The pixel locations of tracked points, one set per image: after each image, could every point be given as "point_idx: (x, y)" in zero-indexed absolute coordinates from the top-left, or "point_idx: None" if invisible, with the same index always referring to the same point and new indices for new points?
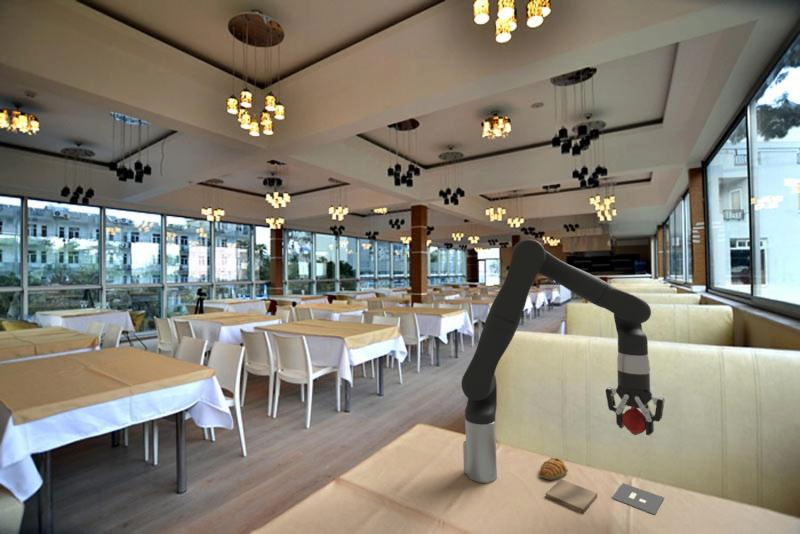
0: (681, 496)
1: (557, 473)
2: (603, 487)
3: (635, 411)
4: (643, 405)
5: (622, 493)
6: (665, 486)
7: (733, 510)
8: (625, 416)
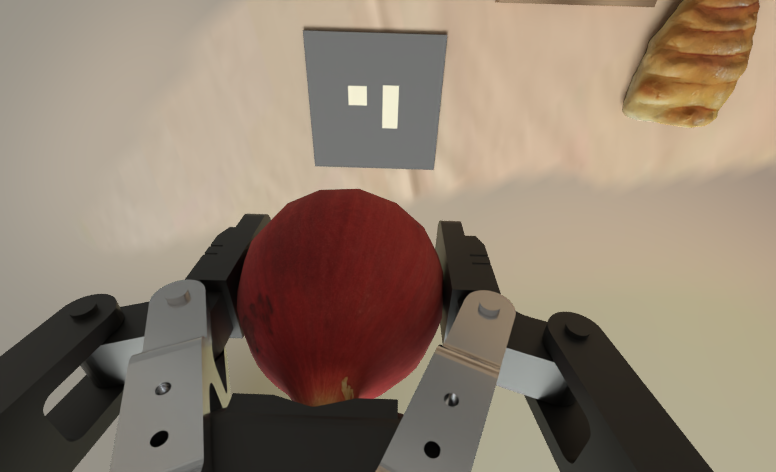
0: None
1: (676, 26)
2: (484, 96)
3: (298, 350)
4: (120, 442)
5: (420, 96)
6: None
7: (177, 222)
8: (403, 268)
